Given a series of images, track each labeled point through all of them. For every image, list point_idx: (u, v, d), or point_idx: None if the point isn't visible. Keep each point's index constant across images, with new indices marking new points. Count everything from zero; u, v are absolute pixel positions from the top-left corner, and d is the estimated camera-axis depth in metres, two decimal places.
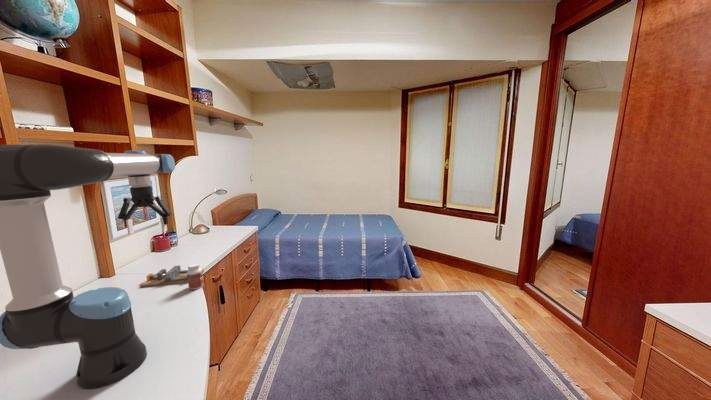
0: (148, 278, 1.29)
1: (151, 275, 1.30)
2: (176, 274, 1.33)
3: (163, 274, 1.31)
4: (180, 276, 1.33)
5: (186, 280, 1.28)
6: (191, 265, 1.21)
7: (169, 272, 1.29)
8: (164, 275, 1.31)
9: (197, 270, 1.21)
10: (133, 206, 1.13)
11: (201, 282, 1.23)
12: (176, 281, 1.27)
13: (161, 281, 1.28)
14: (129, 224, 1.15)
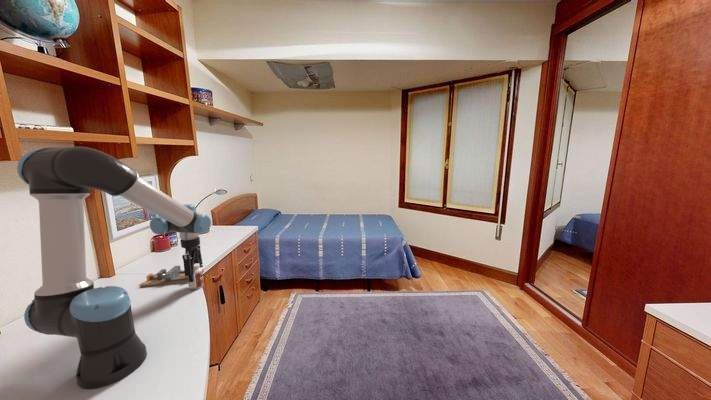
0: (148, 278, 1.29)
1: (151, 275, 1.30)
2: (176, 274, 1.33)
3: (163, 274, 1.31)
4: (180, 276, 1.33)
5: (186, 280, 1.28)
6: None
7: (169, 272, 1.29)
8: (164, 275, 1.31)
9: (197, 270, 1.21)
10: None
11: (201, 282, 1.23)
12: (176, 281, 1.27)
13: (161, 281, 1.28)
14: None
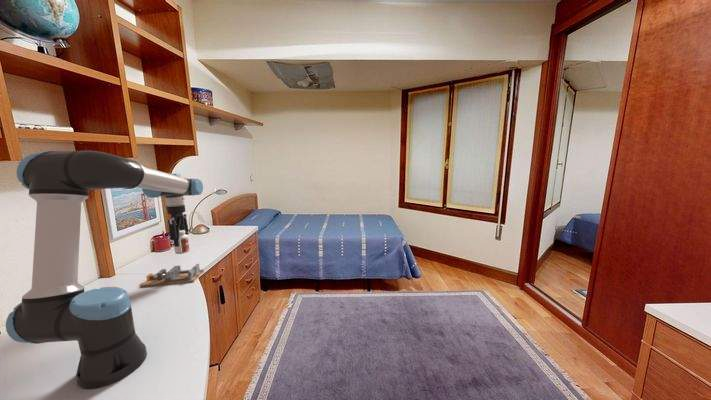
0: (148, 278, 1.29)
1: (151, 275, 1.30)
2: (176, 274, 1.33)
3: (163, 274, 1.31)
4: (180, 276, 1.33)
5: (186, 280, 1.28)
6: None
7: (169, 272, 1.29)
8: (164, 275, 1.31)
9: (183, 236, 1.29)
10: None
11: (187, 247, 1.30)
12: (176, 281, 1.27)
13: (161, 281, 1.28)
14: None
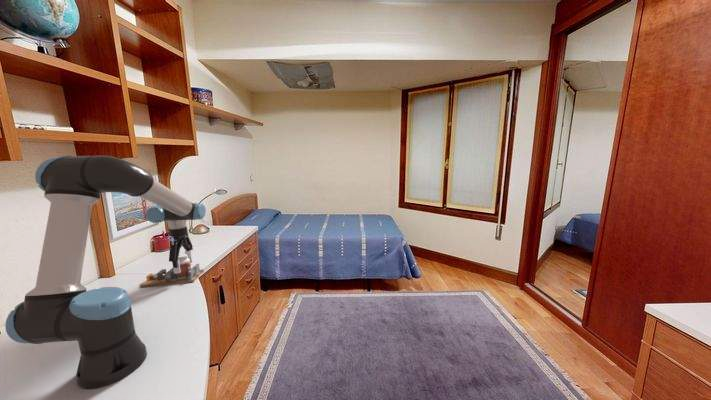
0: (148, 278, 1.29)
1: (151, 275, 1.30)
2: (176, 274, 1.33)
3: (163, 274, 1.31)
4: None
5: (186, 280, 1.28)
6: (180, 256, 1.31)
7: (169, 272, 1.29)
8: (164, 275, 1.31)
9: (185, 260, 1.31)
10: None
11: None
12: (176, 281, 1.27)
13: (161, 281, 1.28)
14: None
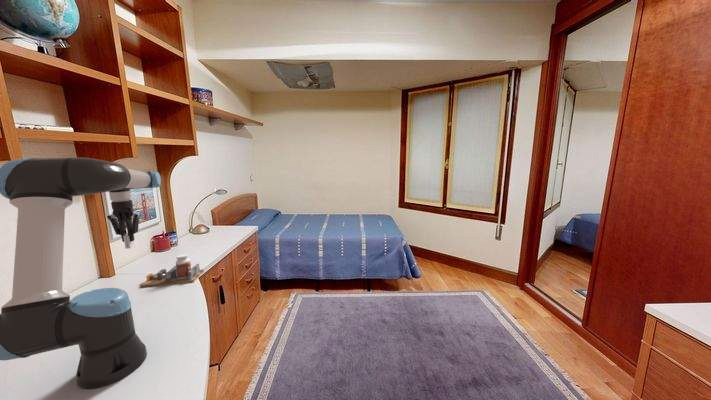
0: (148, 278, 1.29)
1: (151, 275, 1.30)
2: (176, 274, 1.33)
3: (163, 274, 1.31)
4: None
5: (186, 280, 1.28)
6: (180, 256, 1.31)
7: (169, 272, 1.29)
8: (164, 275, 1.31)
9: (185, 260, 1.31)
10: (119, 220, 1.22)
11: None
12: (176, 281, 1.27)
13: (161, 281, 1.28)
14: (126, 239, 1.25)
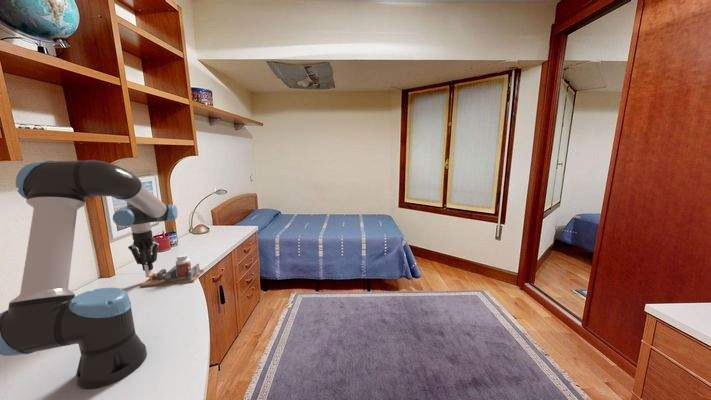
0: (151, 278, 1.29)
1: (154, 275, 1.30)
2: (176, 274, 1.33)
3: None
4: None
5: (186, 280, 1.28)
6: (180, 256, 1.31)
7: (169, 272, 1.29)
8: None
9: (185, 260, 1.31)
10: (139, 250, 1.26)
11: None
12: (176, 281, 1.27)
13: (161, 281, 1.28)
14: None
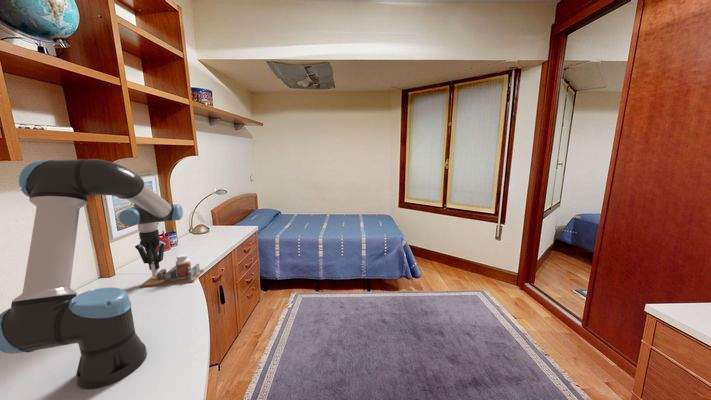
0: None
1: None
2: (176, 274, 1.33)
3: None
4: None
5: (186, 280, 1.28)
6: (180, 256, 1.31)
7: (169, 272, 1.29)
8: None
9: (185, 260, 1.31)
10: (146, 249, 1.26)
11: None
12: (176, 281, 1.27)
13: (161, 281, 1.28)
14: None
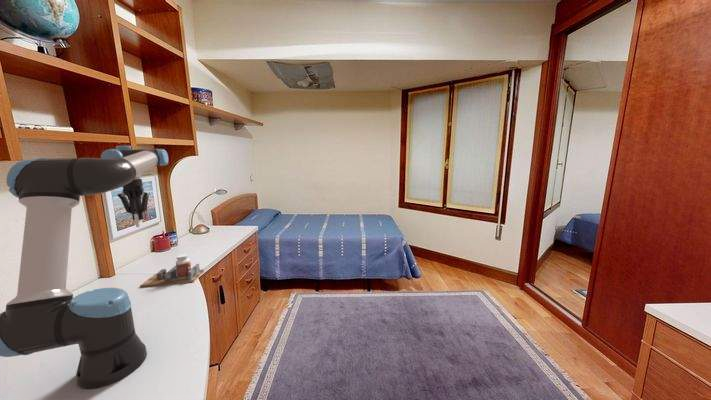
0: None
1: None
2: (176, 274, 1.33)
3: None
4: None
5: (186, 280, 1.28)
6: (180, 256, 1.31)
7: (169, 272, 1.29)
8: None
9: (185, 260, 1.31)
10: (129, 198, 1.23)
11: None
12: (176, 281, 1.27)
13: (161, 281, 1.28)
14: None
